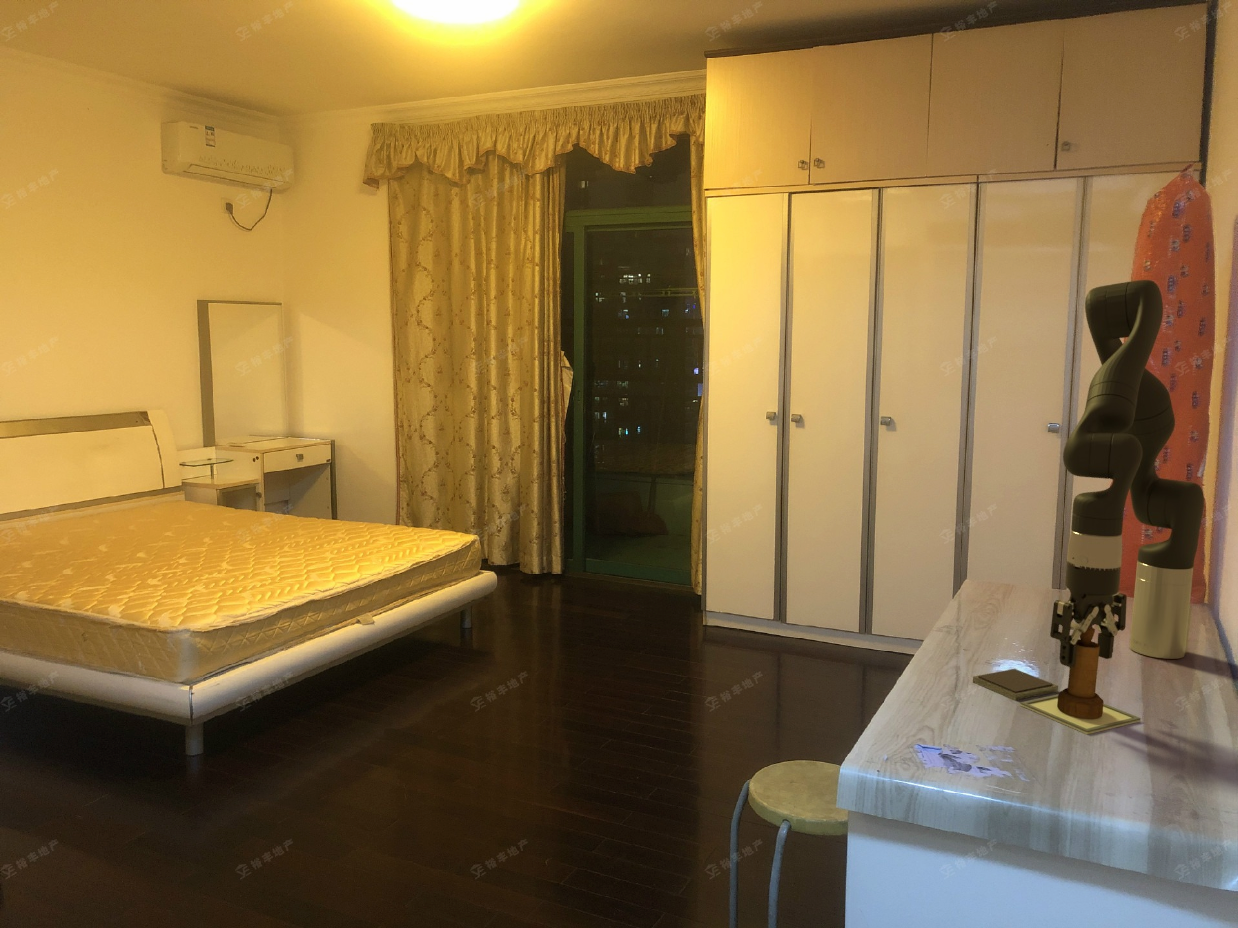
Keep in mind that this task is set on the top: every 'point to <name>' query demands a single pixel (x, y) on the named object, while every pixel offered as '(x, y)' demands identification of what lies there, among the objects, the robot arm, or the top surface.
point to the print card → (1087, 726)
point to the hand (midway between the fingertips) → (1085, 661)
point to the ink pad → (1015, 684)
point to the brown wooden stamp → (1083, 681)
